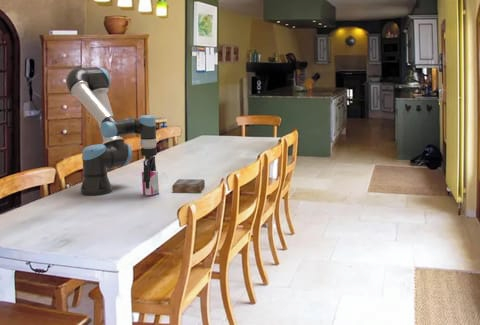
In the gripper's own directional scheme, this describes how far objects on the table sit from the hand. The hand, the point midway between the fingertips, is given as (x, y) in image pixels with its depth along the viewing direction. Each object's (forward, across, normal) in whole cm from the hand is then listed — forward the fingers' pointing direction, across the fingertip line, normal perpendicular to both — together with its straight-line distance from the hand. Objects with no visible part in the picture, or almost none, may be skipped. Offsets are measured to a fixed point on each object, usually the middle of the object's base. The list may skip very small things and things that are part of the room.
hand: (150, 192), depth 284 cm
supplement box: (+1, 0, 0) cm, 1 cm away
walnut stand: (+1, +11, -17) cm, 20 cm away
